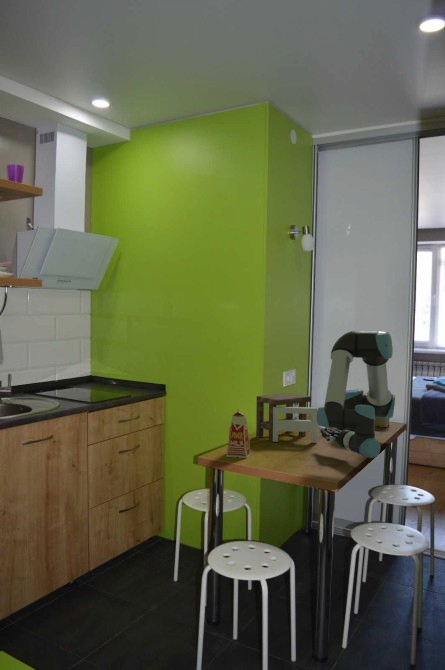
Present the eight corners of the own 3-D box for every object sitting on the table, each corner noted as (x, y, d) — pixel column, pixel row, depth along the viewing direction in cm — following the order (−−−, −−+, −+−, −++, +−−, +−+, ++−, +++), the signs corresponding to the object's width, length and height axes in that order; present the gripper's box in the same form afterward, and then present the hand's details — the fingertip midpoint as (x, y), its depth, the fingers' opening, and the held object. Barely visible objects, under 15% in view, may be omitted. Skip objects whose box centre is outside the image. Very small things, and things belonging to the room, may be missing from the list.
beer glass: (288, 420, 306) (288, 394, 305) (300, 420, 306) (300, 394, 306) (290, 422, 299) (291, 396, 298) (302, 422, 299) (303, 396, 299)
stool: (310, 437, 262) (311, 396, 261) (276, 442, 249) (277, 400, 248) (289, 431, 274) (289, 393, 274) (256, 436, 262) (256, 396, 261)
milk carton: (247, 458, 220) (247, 410, 219) (225, 457, 222) (226, 409, 221) (250, 453, 229) (251, 406, 228) (229, 451, 231) (230, 406, 230)
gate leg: (316, 442, 247) (317, 408, 247) (272, 441, 249) (273, 407, 249) (316, 441, 250) (316, 407, 249) (272, 440, 251) (273, 406, 251)
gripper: (336, 451, 212) (306, 438, 234) (363, 448, 217) (332, 436, 239) (336, 432, 212) (307, 421, 234) (363, 430, 216) (332, 420, 239)
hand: (319, 429), depth 236 cm, fingers closed
